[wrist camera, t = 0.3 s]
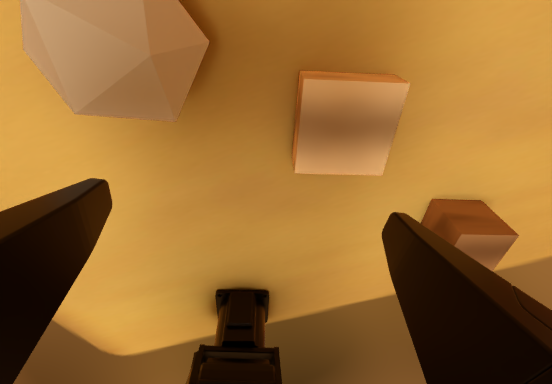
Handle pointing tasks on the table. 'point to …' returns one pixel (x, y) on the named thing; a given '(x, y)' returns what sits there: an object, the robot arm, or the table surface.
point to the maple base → (346, 122)
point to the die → (115, 54)
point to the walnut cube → (471, 229)
